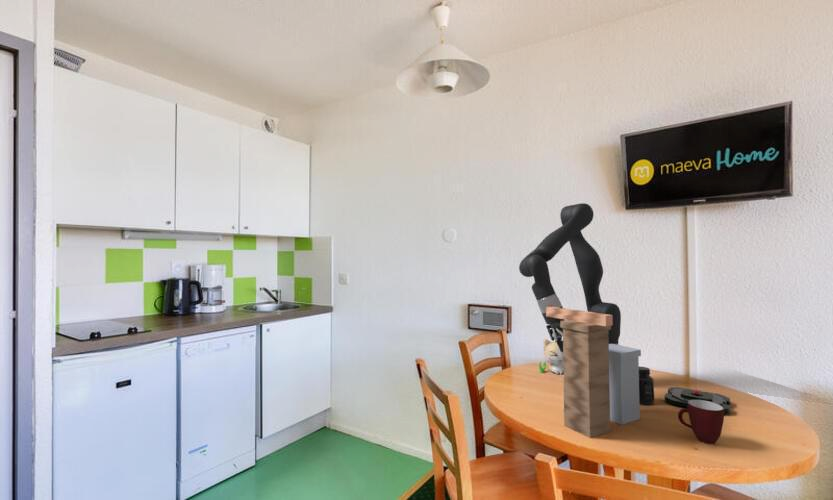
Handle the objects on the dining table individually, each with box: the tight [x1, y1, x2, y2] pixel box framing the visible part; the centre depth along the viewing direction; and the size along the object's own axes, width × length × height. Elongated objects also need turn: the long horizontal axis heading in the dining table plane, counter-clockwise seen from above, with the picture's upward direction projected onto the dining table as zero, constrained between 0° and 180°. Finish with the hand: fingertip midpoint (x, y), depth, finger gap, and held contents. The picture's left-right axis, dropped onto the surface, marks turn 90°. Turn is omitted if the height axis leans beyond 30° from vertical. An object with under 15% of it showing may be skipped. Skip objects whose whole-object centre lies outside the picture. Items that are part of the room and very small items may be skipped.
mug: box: [677, 400, 725, 445], centre depth 106 cm, size 10×8×10 cm
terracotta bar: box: [546, 307, 613, 326], centre depth 117 cm, size 22×3×3 cm, turn 28°
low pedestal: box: [609, 344, 642, 426], centre depth 122 cm, size 10×10×22 cm
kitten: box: [538, 338, 564, 375], centre depth 170 cm, size 15×10×15 cm, turn 90°
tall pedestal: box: [560, 320, 611, 439], centre depth 114 cm, size 10×10×32 cm
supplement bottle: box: [639, 366, 655, 406], centre depth 135 cm, size 7×7×12 cm
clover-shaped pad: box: [663, 386, 731, 414], centre depth 133 cm, size 18×18×5 cm
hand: (570, 351), depth 133 cm, fingers open, 8 cm apart
